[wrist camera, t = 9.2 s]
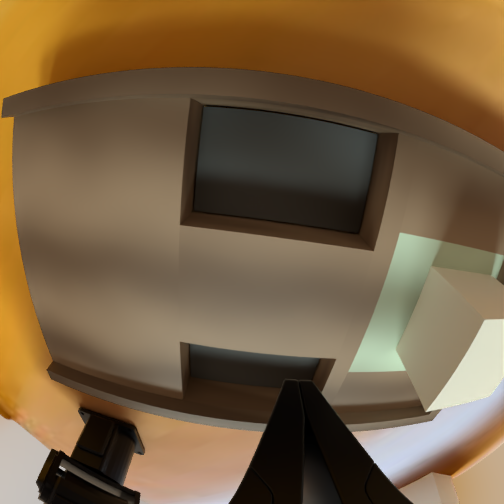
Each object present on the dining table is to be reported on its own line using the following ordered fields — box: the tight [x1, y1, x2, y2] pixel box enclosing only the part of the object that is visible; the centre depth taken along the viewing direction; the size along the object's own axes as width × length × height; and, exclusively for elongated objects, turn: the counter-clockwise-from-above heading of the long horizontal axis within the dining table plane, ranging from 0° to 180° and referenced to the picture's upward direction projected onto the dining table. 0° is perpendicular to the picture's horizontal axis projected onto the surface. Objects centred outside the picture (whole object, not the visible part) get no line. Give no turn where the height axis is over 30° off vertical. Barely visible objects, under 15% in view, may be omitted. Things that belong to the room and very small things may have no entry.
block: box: [396, 266, 504, 412], centre depth 10 cm, size 5×5×4 cm
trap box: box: [2, 67, 504, 432], centre depth 13 cm, size 18×28×4 cm, turn 83°
